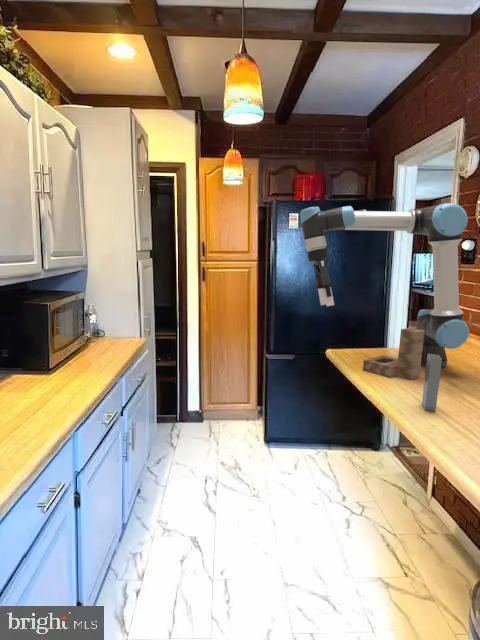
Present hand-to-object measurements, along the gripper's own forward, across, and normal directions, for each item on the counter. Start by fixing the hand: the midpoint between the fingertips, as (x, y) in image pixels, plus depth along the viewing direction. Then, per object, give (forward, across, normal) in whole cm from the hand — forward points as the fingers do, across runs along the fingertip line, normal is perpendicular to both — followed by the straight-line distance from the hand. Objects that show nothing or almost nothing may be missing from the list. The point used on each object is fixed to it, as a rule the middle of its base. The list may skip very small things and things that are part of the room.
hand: (327, 305), depth 166 cm
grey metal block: (+34, +33, +19) cm, 51 cm away
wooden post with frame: (+31, -3, +20) cm, 37 cm away
